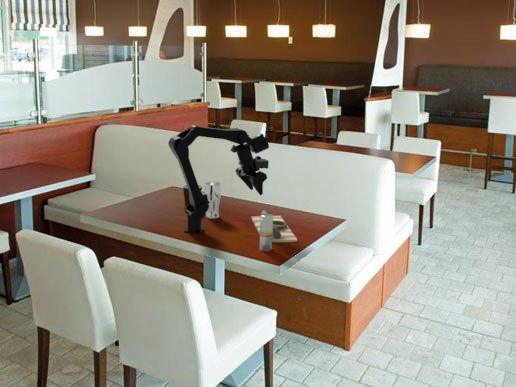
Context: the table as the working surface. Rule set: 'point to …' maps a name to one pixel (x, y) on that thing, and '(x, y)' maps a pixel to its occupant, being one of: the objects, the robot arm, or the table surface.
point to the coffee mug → (186, 194)
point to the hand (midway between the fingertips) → (256, 192)
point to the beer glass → (213, 199)
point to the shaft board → (283, 232)
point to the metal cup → (266, 232)
